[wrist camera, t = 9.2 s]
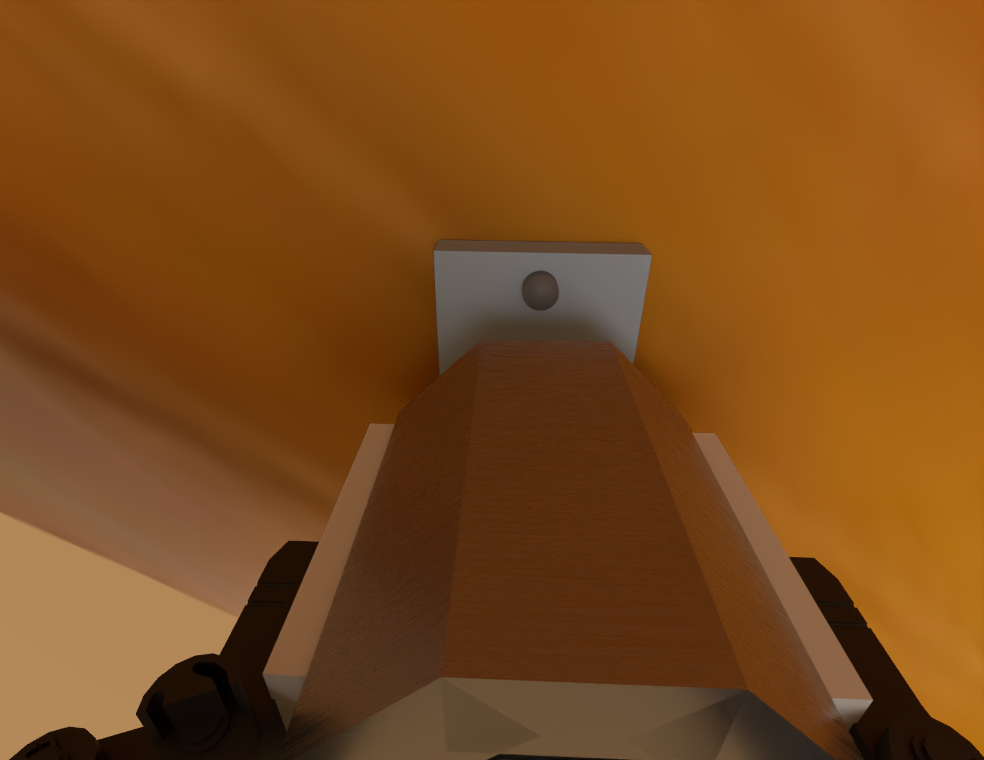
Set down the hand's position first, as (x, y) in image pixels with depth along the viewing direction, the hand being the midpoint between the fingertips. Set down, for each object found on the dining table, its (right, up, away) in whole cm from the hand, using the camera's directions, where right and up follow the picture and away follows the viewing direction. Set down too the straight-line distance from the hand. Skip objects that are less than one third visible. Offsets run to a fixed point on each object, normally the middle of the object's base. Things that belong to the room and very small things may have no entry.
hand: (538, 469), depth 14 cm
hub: (0, 0, 0) cm, 0 cm away
